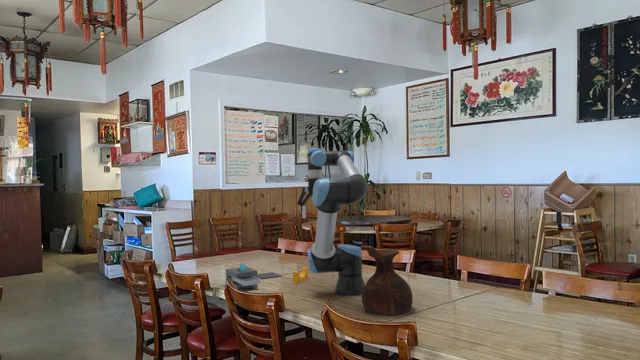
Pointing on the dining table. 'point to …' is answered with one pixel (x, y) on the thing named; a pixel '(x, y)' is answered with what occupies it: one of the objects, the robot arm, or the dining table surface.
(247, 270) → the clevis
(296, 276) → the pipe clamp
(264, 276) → the mat
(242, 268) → the pin
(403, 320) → the dining table surface
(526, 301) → the dining table surface
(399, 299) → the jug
